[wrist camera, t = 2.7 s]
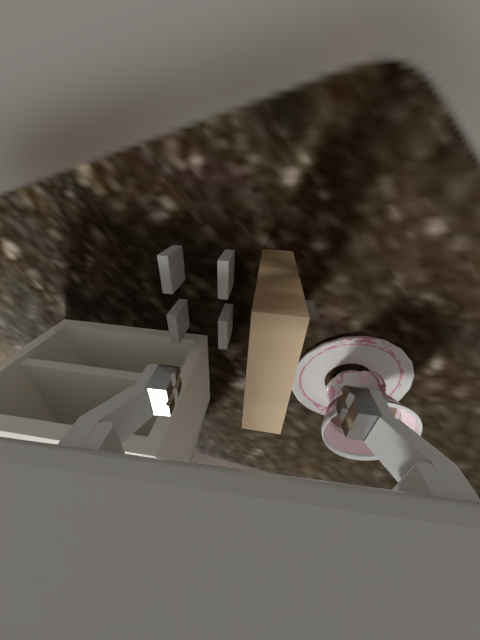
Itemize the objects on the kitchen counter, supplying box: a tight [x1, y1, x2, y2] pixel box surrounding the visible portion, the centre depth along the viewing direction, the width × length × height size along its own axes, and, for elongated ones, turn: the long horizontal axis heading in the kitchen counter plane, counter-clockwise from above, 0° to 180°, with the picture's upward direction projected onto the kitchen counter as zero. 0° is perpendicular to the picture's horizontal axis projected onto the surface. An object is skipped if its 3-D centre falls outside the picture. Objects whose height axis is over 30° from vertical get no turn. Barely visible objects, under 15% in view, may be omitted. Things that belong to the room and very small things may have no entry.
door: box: [242, 249, 315, 434], centre depth 16 cm, size 3×8×10 cm, turn 178°
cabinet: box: [0, 245, 235, 463], centre depth 19 cm, size 19×19×12 cm
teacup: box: [292, 336, 423, 461], centre depth 21 cm, size 12×12×6 cm
